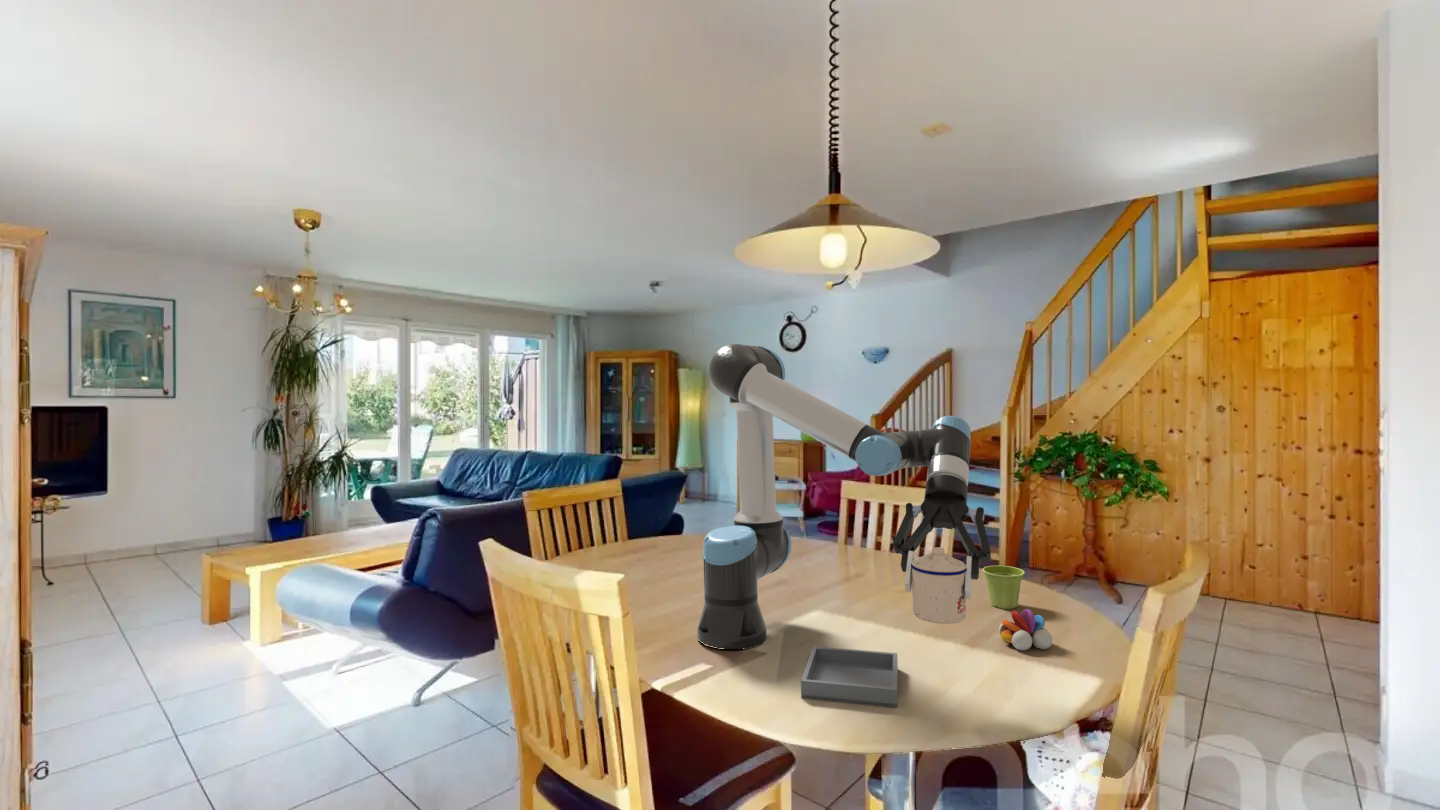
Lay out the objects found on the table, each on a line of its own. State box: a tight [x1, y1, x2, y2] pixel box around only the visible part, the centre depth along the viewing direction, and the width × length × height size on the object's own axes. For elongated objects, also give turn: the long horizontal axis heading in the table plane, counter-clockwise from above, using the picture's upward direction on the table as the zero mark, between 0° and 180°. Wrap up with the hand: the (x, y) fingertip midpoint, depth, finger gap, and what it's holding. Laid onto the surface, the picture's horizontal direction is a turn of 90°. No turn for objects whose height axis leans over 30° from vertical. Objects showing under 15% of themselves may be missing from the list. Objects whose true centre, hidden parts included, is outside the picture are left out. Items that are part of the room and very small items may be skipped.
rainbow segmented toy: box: [998, 608, 1053, 652], centre depth 132 cm, size 8×10×7 cm
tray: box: [800, 646, 899, 709], centre depth 116 cm, size 16×16×3 cm
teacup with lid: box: [911, 546, 967, 625], centre depth 111 cm, size 12×9×12 cm
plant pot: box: [982, 565, 1026, 610], centre depth 157 cm, size 9×9×9 cm
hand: (937, 591), depth 108 cm, fingers closed on teacup with lid, 9 cm apart
